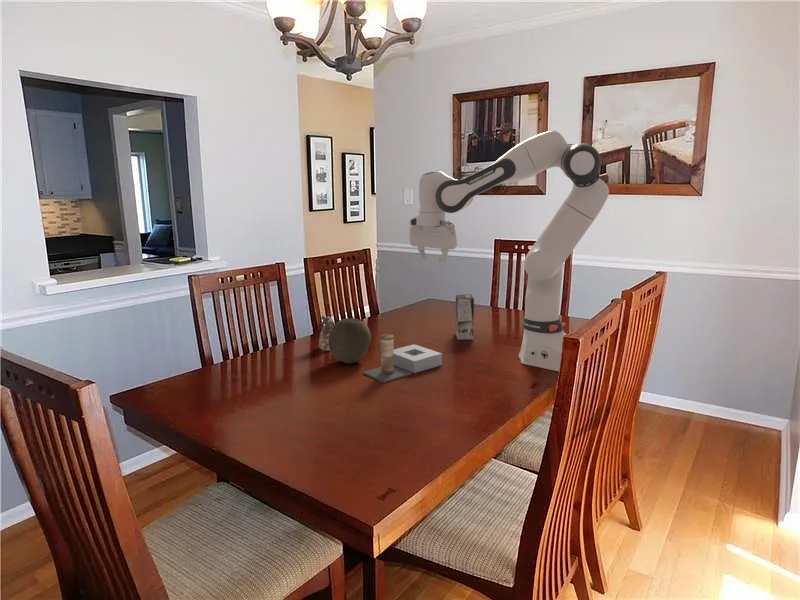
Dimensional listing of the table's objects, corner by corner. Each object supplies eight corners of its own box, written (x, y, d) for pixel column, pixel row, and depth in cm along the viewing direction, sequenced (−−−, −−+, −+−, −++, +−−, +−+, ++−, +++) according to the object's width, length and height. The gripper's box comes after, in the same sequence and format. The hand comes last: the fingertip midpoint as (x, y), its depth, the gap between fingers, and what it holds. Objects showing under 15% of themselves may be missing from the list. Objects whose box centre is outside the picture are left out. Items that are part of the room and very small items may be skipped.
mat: (411, 374, 169) (411, 372, 169) (384, 383, 163) (384, 381, 163) (390, 366, 178) (390, 364, 178) (363, 373, 171) (363, 371, 171)
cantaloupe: (365, 369, 175) (363, 325, 171) (324, 367, 177) (321, 323, 174) (375, 356, 188) (374, 314, 185) (337, 354, 191) (335, 313, 188)
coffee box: (473, 339, 206) (474, 298, 203) (457, 339, 207) (457, 298, 203) (471, 333, 215) (471, 293, 212) (455, 333, 215) (455, 294, 212)
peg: (396, 372, 170) (396, 336, 167) (386, 375, 167) (385, 338, 165) (388, 369, 173) (388, 333, 170) (378, 372, 170) (377, 335, 168)
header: (441, 364, 178) (441, 353, 177) (414, 373, 171) (414, 361, 170) (414, 355, 189) (414, 344, 188) (387, 362, 181) (387, 351, 181)
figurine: (329, 351, 194) (327, 319, 192) (315, 348, 198) (313, 317, 196) (342, 346, 200) (341, 315, 197) (328, 343, 204) (327, 313, 201)
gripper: (460, 220, 176) (461, 262, 179) (419, 219, 191) (420, 257, 194) (447, 222, 172) (447, 264, 175) (406, 220, 188) (407, 259, 190)
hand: (433, 260), depth 185 cm, fingers open, 8 cm apart
